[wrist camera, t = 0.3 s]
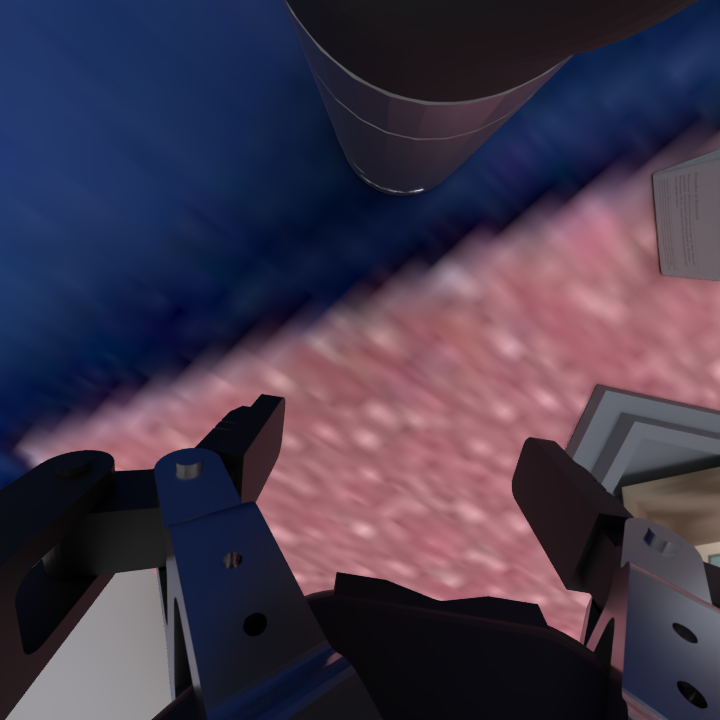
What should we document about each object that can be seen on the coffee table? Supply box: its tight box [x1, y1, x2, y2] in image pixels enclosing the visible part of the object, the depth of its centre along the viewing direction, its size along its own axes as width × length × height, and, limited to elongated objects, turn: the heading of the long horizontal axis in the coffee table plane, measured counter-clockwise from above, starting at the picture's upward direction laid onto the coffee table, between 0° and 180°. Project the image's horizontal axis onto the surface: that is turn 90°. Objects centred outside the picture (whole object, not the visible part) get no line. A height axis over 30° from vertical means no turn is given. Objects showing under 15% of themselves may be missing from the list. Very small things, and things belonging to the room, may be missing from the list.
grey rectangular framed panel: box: [565, 385, 720, 506], centre depth 29 cm, size 22×12×3 cm, turn 78°
